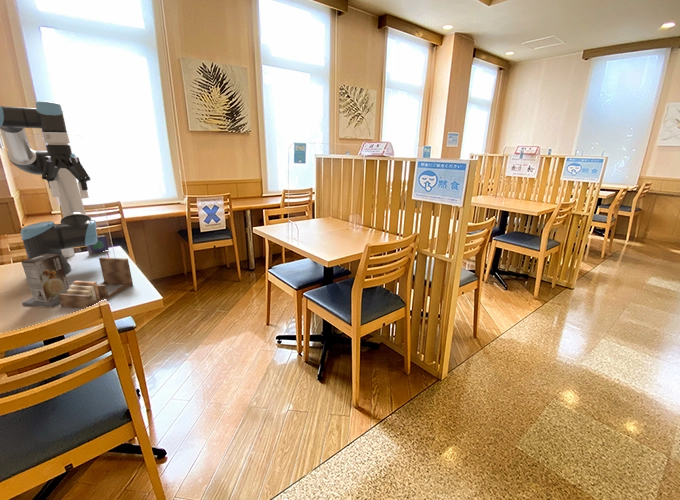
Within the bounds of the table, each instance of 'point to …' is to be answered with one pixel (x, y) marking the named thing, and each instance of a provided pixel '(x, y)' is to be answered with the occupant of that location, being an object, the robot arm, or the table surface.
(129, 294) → the table surface
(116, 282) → the walnut rack
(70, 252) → the jar
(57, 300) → the rubber mat
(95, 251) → the flask
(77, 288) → the offcut stack
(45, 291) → the coffee box
